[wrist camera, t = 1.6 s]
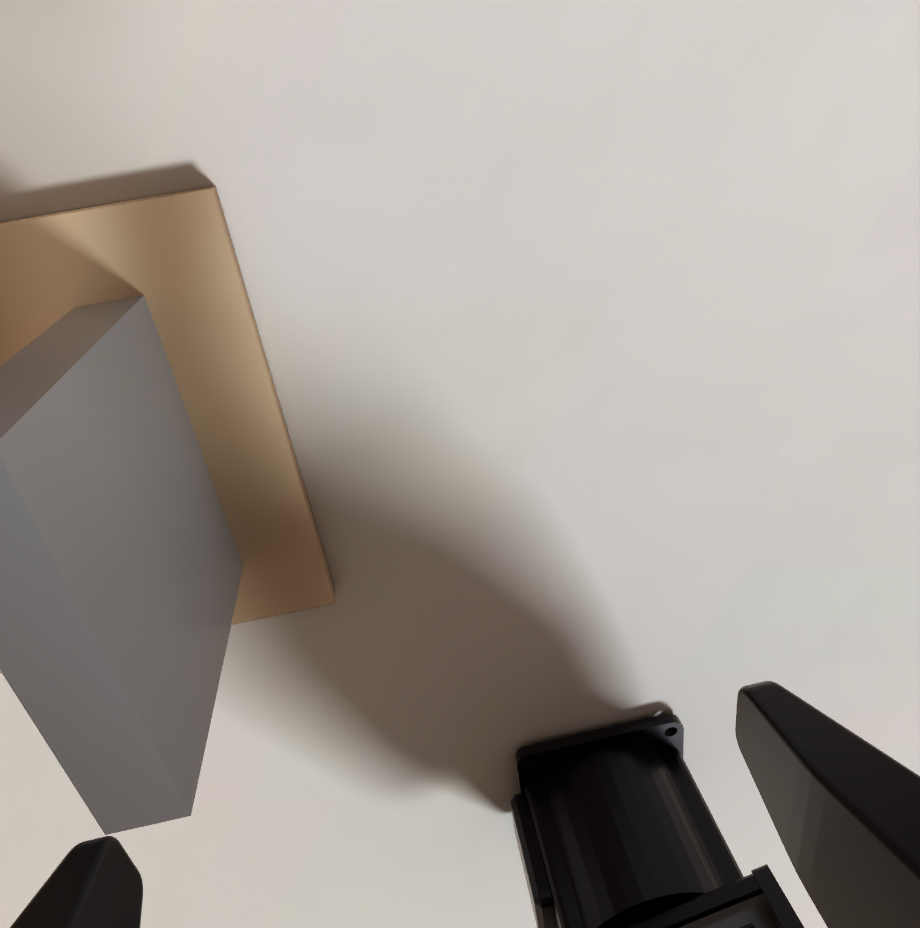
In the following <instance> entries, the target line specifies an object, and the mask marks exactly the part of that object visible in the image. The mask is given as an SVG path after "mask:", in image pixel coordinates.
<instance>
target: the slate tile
mask: <svg viewBox="0 0 920 928" xmlns="http://www.w3.org/2000/svg"><path fill="white" fill-rule="evenodd" d="M243 567H244V566H243V563H242V560H241V557H240V555H239V552H238V549H237V546H236V544H235V541H234V538H233V536H232V533H231V530H230V527H229V525H228V522H227V519H226V517H225V514H224V511H223V508H222V506H221V503H220V500H219V498H218V495H217V492H216V489H215V487H214V484H213V481H212V478H211V476H210V473H209V470H208V468H207V465H206V462H205V459H204V457H203V454H202V451H201V449H200V446H199V443H198V440H197V438H196V435H195V432H194V430H193V427H192V424H191V421H190V419H189V416H188V413H187V410H186V408H185V405H184V402H183V400H182V397H181V394H180V391H179V389H178V386H177V383H176V381H175V378H174V375H173V372H172V370H171V367H170V364H169V361H168V359H167V356H166V353H165V351H164V348H163V345H162V342H161V340H160V337H159V334H158V332H157V329H156V326H155V323H154V321H153V318H152V315H151V313H150V310H149V307H148V304H147V302H146V299H145V296H144V295H141V296H135V297H130V298H124V299H119V300H113V301H107V302H102V303H96V304H91V305H85V306H79V307H75V308H73V309H72V310H71V311H70V312H68V313H67V314H66V315H65V316H63V317H62V318H61V319H59V320H58V321H57V322H56V323H54V324H53V325H52V326H51V327H49V328H48V329H47V330H46V331H44V332H43V333H42V334H40V335H39V336H38V337H37V338H35V339H34V340H33V341H32V342H30V343H29V344H28V345H27V346H25V347H24V348H23V349H21V350H20V351H19V352H18V353H16V354H15V355H14V356H13V357H11V358H10V359H9V360H8V361H6V362H5V363H4V364H2V365H1V366H0V670H1V672H2V674H3V675H4V677H5V678H6V680H7V681H8V683H9V685H10V686H11V688H12V689H13V691H14V692H15V694H16V696H17V697H18V699H19V700H20V702H21V703H22V705H23V707H24V708H25V710H26V711H27V713H28V714H29V716H30V717H31V719H32V721H33V722H34V724H35V725H36V727H37V728H38V730H39V732H40V733H41V735H42V736H43V738H44V739H45V741H46V743H47V744H48V746H49V747H50V749H51V750H52V752H53V754H54V755H55V757H56V758H57V760H58V761H59V763H60V765H61V766H62V768H63V769H64V771H65V772H66V774H67V775H68V777H69V779H70V780H71V782H72V783H73V785H74V786H75V788H76V790H77V791H78V793H79V794H80V796H81V797H82V799H83V801H84V802H85V804H86V805H87V807H88V808H89V810H90V812H91V813H92V815H93V816H94V818H95V819H96V821H97V822H98V824H99V826H100V827H101V829H102V830H103V832H104V833H105V835H107V834H112V833H116V832H120V831H125V830H129V829H134V828H138V827H143V826H147V825H151V824H156V823H160V822H165V821H169V820H174V819H178V818H183V817H187V816H191V812H192V807H193V803H194V798H195V793H196V789H197V784H198V779H199V774H200V770H201V765H202V760H203V755H204V751H205V746H206V741H207V737H208V732H209V727H210V722H211V718H212V713H213V708H214V704H215V699H216V694H217V689H218V685H219V680H220V675H221V670H222V666H223V661H224V656H225V652H226V647H227V642H228V637H229V633H230V628H231V623H232V618H233V614H234V609H235V604H236V600H237V595H238V590H239V585H240V581H241V576H242V571H243Z"/></svg>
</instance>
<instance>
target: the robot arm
mask: <svg viewBox="0 0 920 928" xmlns="http://www.w3.org/2000/svg"><path fill="white" fill-rule="evenodd" d="M683 733H684V729H683V725H682V724H681V722H680V720H679V718H678V717H677V716H676V715H673V714H667V715H662V716H658V717H653V718H649V719H644V720H640V721H636V722H631V723H627V724H622V725H618V726H614V727H609V728H605V729H600V730H596V731H591V732H587V733H583V734H578V735H574V736H569V737H565V738H560V739H556V740H552V741H547V742H543V743H538V744H534V745H529V746H525V747H523V748H521V749H519V750H518V751H517V752H516V754H515V764H516V770H517V777H518V783H519V789H520V794H516V795H514V796H513V798H512V800H511V801H510V803H511V809H512V814H513V820H514V826H515V832H516V838H517V842H518V847H519V851H520V855H521V860H522V864H523V868H524V872H525V877H526V881H527V885H528V890H529V894H530V898H531V902H532V907H533V911H534V915H535V920H536V924H537V928H804V926H803V925H802V923H801V921H800V920H799V918H798V916H797V915H796V913H795V911H794V910H793V908H792V906H791V904H790V903H789V901H788V899H787V898H786V896H785V894H784V893H783V891H782V889H781V887H780V886H779V884H778V882H777V881H776V879H775V877H774V876H773V874H772V872H771V870H770V869H769V867H768V865H767V864H766V865H764V866H761V867H759V868H756V869H754V870H751V871H752V874H751V875H748V876H746V877H743V875H742V873H741V871H740V869H739V867H738V865H737V863H736V861H735V859H734V857H733V855H732V853H731V851H730V849H729V847H728V846H727V844H726V842H725V840H724V838H723V836H722V834H721V832H720V830H719V828H718V826H717V824H716V822H715V820H714V818H713V816H712V814H711V812H710V810H709V808H708V807H707V805H706V803H705V801H704V799H703V797H702V795H701V793H700V791H699V789H698V787H697V785H696V783H695V781H694V779H693V777H692V775H691V773H690V771H689V769H688V768H687V766H686V764H685V762H684V760H683ZM736 738H737V742H738V745H739V748H740V750H741V753H742V755H743V757H744V759H745V762H746V764H747V766H748V768H749V770H750V772H751V775H752V777H753V779H754V781H755V783H756V786H757V788H758V790H759V792H760V794H761V797H762V799H763V801H764V803H765V805H766V808H767V810H768V812H769V814H770V816H771V819H772V821H773V823H774V825H775V827H776V830H777V832H778V834H779V836H780V838H781V841H782V843H783V845H784V847H785V849H786V851H787V854H788V856H789V858H790V860H791V862H792V864H793V866H794V868H795V870H796V872H797V874H798V876H799V878H800V880H801V881H802V883H803V885H804V887H805V889H806V890H807V892H808V894H809V896H810V898H811V899H812V901H813V903H814V904H815V906H816V908H817V910H818V911H819V913H820V915H821V916H822V918H823V920H824V922H825V923H826V925H827V927H828V928H920V776H919V775H917V774H916V773H914V772H913V771H911V770H910V769H908V768H906V767H905V766H903V765H902V764H900V763H899V762H897V761H896V760H894V759H893V758H891V757H890V756H888V755H886V754H885V753H883V752H882V751H880V750H879V749H877V748H876V747H874V746H873V745H871V744H870V743H868V742H867V741H865V740H863V739H862V738H860V737H859V736H857V735H856V734H854V733H853V732H851V731H850V730H848V729H847V728H845V727H843V726H842V725H840V724H839V723H837V722H836V721H834V720H833V719H831V718H830V717H828V716H827V715H825V714H824V713H822V712H820V711H819V710H817V709H816V708H814V707H813V706H811V705H810V704H808V703H807V702H805V701H804V700H802V699H800V698H799V697H797V696H796V695H794V694H793V693H791V692H790V691H788V690H787V689H785V688H784V687H782V686H781V685H779V684H777V683H775V682H771V681H764V682H760V683H756V684H752V685H747V686H744V687H742V688H741V689H740V690H739V692H738V699H737V714H736ZM142 900H143V884H142V879H141V875H140V873H139V871H138V869H137V868H136V866H135V865H134V863H133V862H132V860H131V859H130V857H129V856H128V854H127V853H126V851H125V850H124V848H123V847H122V845H121V844H120V842H119V841H118V840H117V839H116V838H114V837H112V836H106V837H102V838H97V839H93V840H89V841H85V842H82V843H79V844H78V845H76V846H75V847H74V848H73V849H71V850H70V852H69V853H68V854H67V855H66V856H65V858H64V859H63V860H62V862H61V863H60V864H59V865H58V867H57V868H56V869H55V871H54V872H53V873H52V874H51V876H50V877H49V878H48V880H47V881H46V882H45V883H44V885H43V886H42V887H41V889H40V890H39V891H38V892H37V894H36V895H35V896H34V898H33V899H32V900H31V901H30V903H29V904H28V905H27V907H26V908H25V909H24V910H23V912H22V913H21V914H20V916H19V917H18V918H17V919H16V921H15V922H14V923H13V925H12V926H11V927H10V928H140V922H141V911H142Z"/></svg>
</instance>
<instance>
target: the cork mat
mask: <svg viewBox="0 0 920 928" xmlns="http://www.w3.org/2000/svg"><path fill="white" fill-rule="evenodd" d="M141 295H144V296H145V299H146V302H147V304H148V307H149V310H150V313H151V315H152V318H153V321H154V323H155V326H156V329H157V332H158V334H159V337H160V340H161V342H162V345H163V348H164V351H165V353H166V356H167V359H168V361H169V364H170V367H171V370H172V372H173V375H174V378H175V381H176V383H177V386H178V389H179V391H180V394H181V397H182V400H183V402H184V405H185V408H186V410H187V413H188V416H189V419H190V421H191V424H192V427H193V430H194V432H195V435H196V438H197V440H198V443H199V446H200V449H201V451H202V454H203V457H204V459H205V462H206V465H207V468H208V470H209V473H210V476H211V478H212V481H213V484H214V487H215V489H216V492H217V495H218V498H219V500H220V503H221V506H222V508H223V511H224V514H225V517H226V519H227V522H228V525H229V527H230V530H231V533H232V536H233V538H234V541H235V544H236V546H237V549H238V552H239V555H240V557H241V560H242V563H243V566H244V567H243V571H242V576H241V581H240V585H239V590H238V595H237V600H236V604H235V609H234V614H233V618H232V623H231V625H233V624H237V623H242V622H247V621H252V620H257V619H261V618H266V617H271V616H276V615H280V614H285V613H290V612H295V611H300V610H304V609H309V608H314V607H319V606H323V605H328V604H333V603H335V590H334V587H333V583H332V580H331V577H330V573H329V570H328V566H327V563H326V560H325V556H324V553H323V549H322V546H321V543H320V539H319V536H318V532H317V529H316V526H315V522H314V519H313V515H312V512H311V509H310V505H309V502H308V498H307V495H306V492H305V488H304V485H303V481H302V478H301V475H300V471H299V468H298V464H297V461H296V458H295V454H294V451H293V447H292V444H291V441H290V437H289V434H288V430H287V427H286V424H285V420H284V417H283V414H282V410H281V407H280V403H279V400H278V397H277V393H276V390H275V386H274V383H273V380H272V376H271V373H270V369H269V366H268V363H267V359H266V356H265V352H264V349H263V346H262V342H261V339H260V335H259V332H258V329H257V325H256V322H255V318H254V315H253V312H252V308H251V305H250V301H249V298H248V295H247V291H246V288H245V284H244V281H243V278H242V274H241V271H240V268H239V264H238V261H237V257H236V254H235V251H234V247H233V244H232V240H231V237H230V234H229V230H228V227H227V223H226V220H225V217H224V213H223V210H222V206H221V203H220V200H219V196H218V193H217V189H216V186H212V187H206V188H200V189H194V190H188V191H182V192H177V193H171V194H165V195H159V196H153V197H147V198H141V199H135V200H130V201H124V202H118V203H112V204H106V205H100V206H94V207H88V208H83V209H77V210H71V211H65V212H59V213H53V214H47V215H41V216H36V217H30V218H24V219H18V220H12V221H6V222H0V366H1V365H2V364H4V363H5V362H6V361H8V360H9V359H10V358H11V357H13V356H14V355H15V354H16V353H18V352H19V351H20V350H21V349H23V348H24V347H25V346H27V345H28V344H29V343H30V342H32V341H33V340H34V339H35V338H37V337H38V336H39V335H40V334H42V333H43V332H44V331H46V330H47V329H48V328H49V327H51V326H52V325H53V324H54V323H56V322H57V321H58V320H59V319H61V318H62V317H63V316H65V315H66V314H67V313H68V312H70V311H71V310H72V309H73V308H75V307H79V306H85V305H91V304H96V303H102V302H107V301H113V300H119V299H124V298H130V297H135V296H141ZM0 673H2V672H1V670H0Z"/></svg>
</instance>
